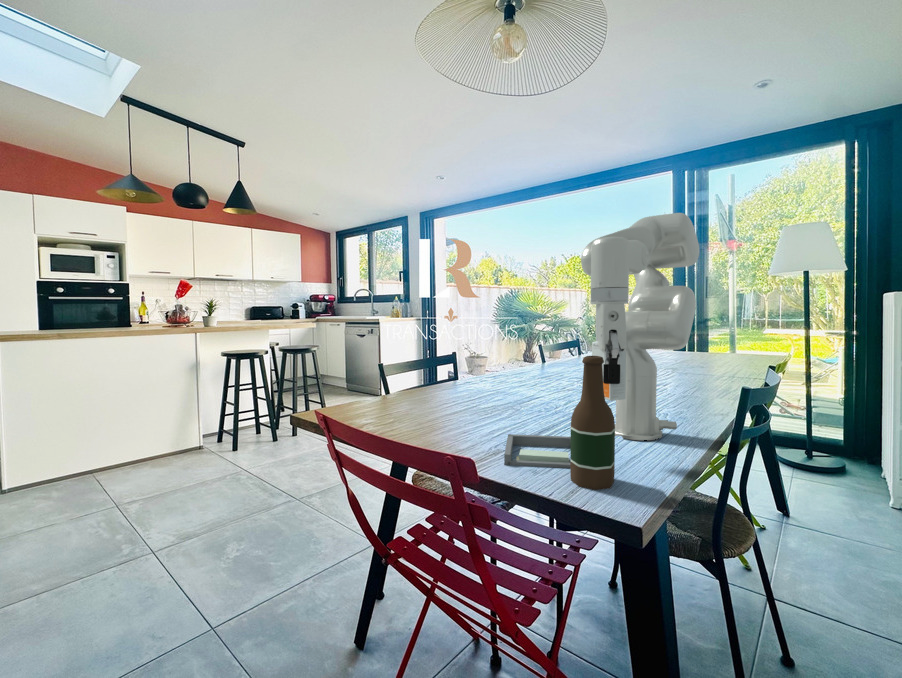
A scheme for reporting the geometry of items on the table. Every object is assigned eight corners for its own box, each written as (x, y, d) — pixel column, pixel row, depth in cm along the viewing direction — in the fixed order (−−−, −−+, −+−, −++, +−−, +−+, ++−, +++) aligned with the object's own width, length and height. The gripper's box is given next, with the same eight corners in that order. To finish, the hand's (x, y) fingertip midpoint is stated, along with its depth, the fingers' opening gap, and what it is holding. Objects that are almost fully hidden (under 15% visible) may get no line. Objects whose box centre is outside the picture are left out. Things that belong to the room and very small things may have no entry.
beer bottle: (623, 487, 79) (625, 356, 78) (597, 498, 75) (598, 360, 73) (587, 474, 86) (588, 353, 84) (561, 484, 81) (561, 356, 80)
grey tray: (575, 449, 101) (575, 436, 101) (582, 472, 87) (582, 458, 87) (508, 446, 104) (508, 434, 103) (504, 468, 90) (504, 454, 89)
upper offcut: (568, 459, 92) (568, 452, 92) (568, 464, 89) (568, 457, 89) (520, 456, 95) (520, 449, 94) (519, 461, 91) (519, 454, 91)
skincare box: (590, 396, 95) (590, 341, 95) (605, 394, 97) (606, 341, 96) (610, 401, 90) (611, 343, 89) (626, 399, 91) (627, 342, 91)
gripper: (637, 295, 83) (636, 388, 84) (619, 297, 100) (618, 374, 101) (596, 296, 84) (595, 387, 85) (585, 298, 101) (585, 374, 103)
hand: (608, 379), depth 93 cm, fingers closed on skincare box, 7 cm apart
